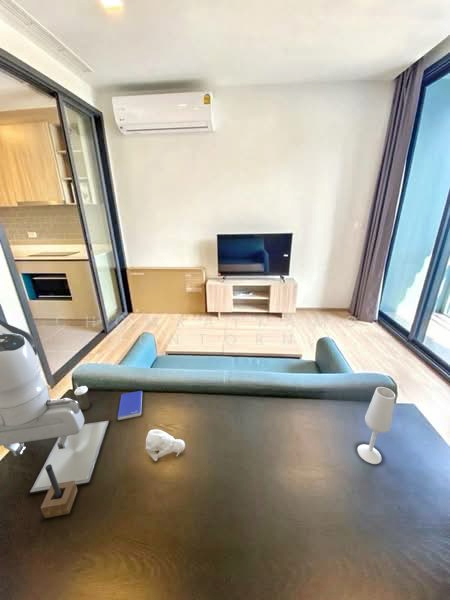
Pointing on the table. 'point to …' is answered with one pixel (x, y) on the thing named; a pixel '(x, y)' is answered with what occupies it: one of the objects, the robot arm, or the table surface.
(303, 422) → the table surface
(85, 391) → the milkshake
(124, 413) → the hard drive
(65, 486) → the stand
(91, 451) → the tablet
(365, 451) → the champagne flute
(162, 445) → the white animal figurine
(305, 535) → the table surface
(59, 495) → the stylus
